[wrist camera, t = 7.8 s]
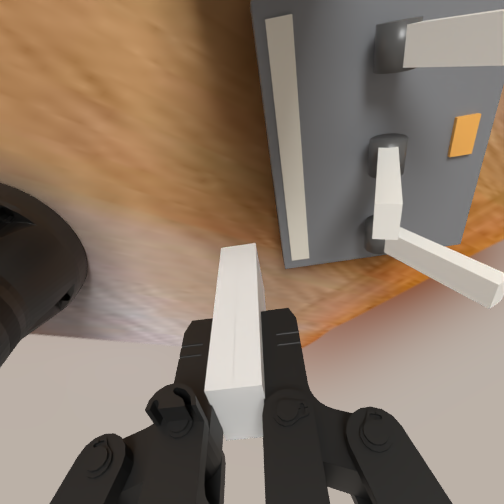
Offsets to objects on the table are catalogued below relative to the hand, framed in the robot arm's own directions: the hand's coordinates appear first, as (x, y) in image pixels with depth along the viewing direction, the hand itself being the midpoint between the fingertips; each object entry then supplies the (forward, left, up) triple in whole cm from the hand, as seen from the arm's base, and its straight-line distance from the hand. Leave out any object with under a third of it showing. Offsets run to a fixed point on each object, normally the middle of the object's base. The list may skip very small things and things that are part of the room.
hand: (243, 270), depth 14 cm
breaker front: (+10, +7, -11) cm, 16 cm away
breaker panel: (+10, 0, -15) cm, 18 cm away
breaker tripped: (+11, 0, -12) cm, 16 cm away
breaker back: (+10, -6, -11) cm, 16 cm away
